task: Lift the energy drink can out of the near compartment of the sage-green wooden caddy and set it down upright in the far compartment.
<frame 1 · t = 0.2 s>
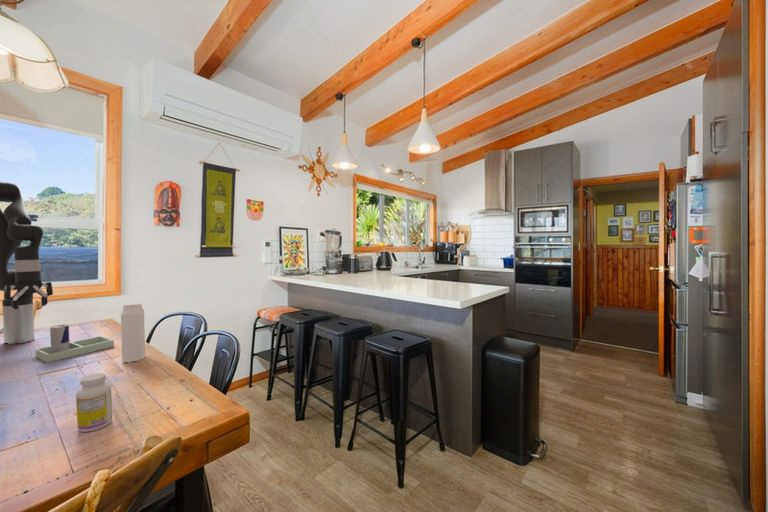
hand: (30, 307, 140), 17 cm above the table, tool pointing down, fingers open, 8 cm apart
supplement bottle: (95, 426, 82), on the table
milk: (134, 360, 127), on the table
caddy: (76, 351, 135), on the table
energy drink: (60, 355, 131), resting in caddy
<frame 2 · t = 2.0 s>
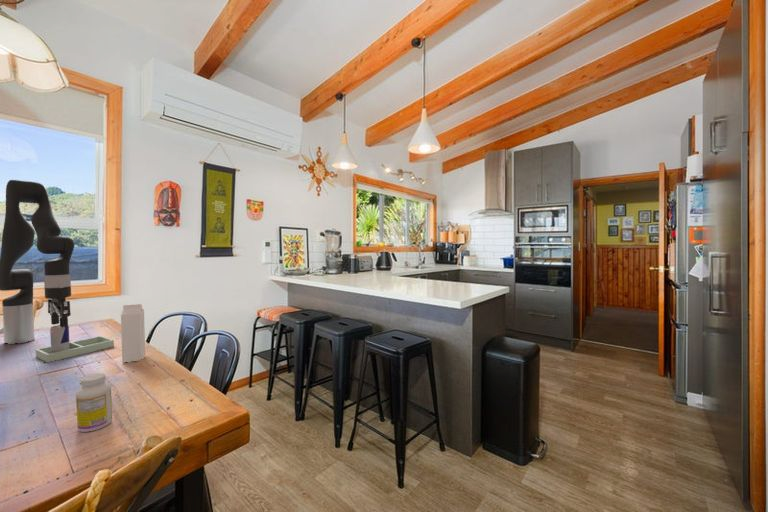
hand: (59, 325, 130), 12 cm above the table, tool pointing down, fingers open, 8 cm apart
nothing on the table moved.
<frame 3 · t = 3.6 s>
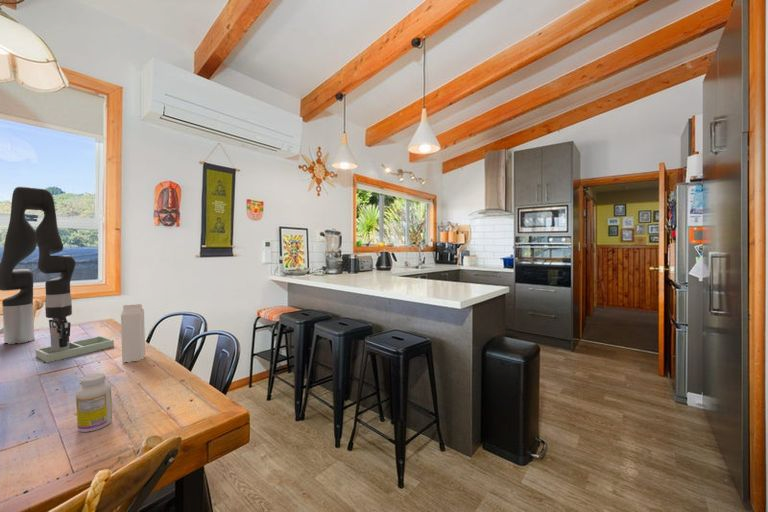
hand: (60, 345, 131), 4 cm above the table, tool pointing down, fingers closed on energy drink, 5 cm apart
energy drink: (60, 355, 131), resting in caddy, touching gripper
everything else where it was.
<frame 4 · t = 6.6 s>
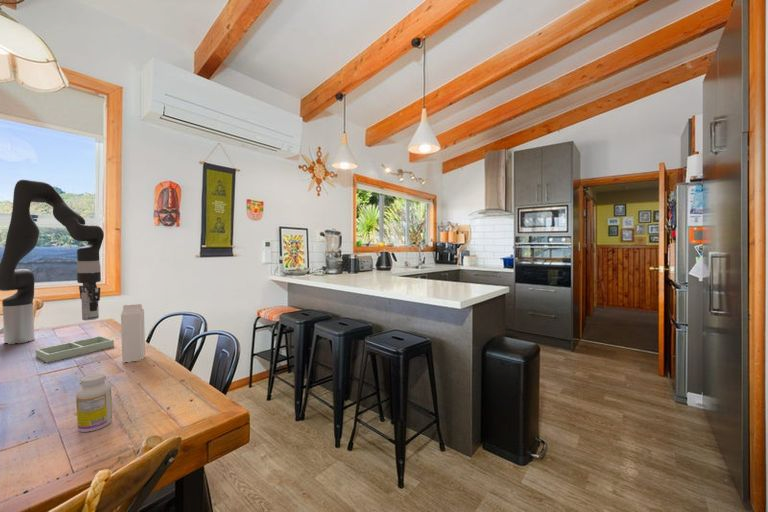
hand: (90, 310, 139), 17 cm above the table, tool pointing down, fingers closed on energy drink, 5 cm apart
energy drink: (90, 319, 139), point 13 cm above the table, touching gripper
everything else where it was.
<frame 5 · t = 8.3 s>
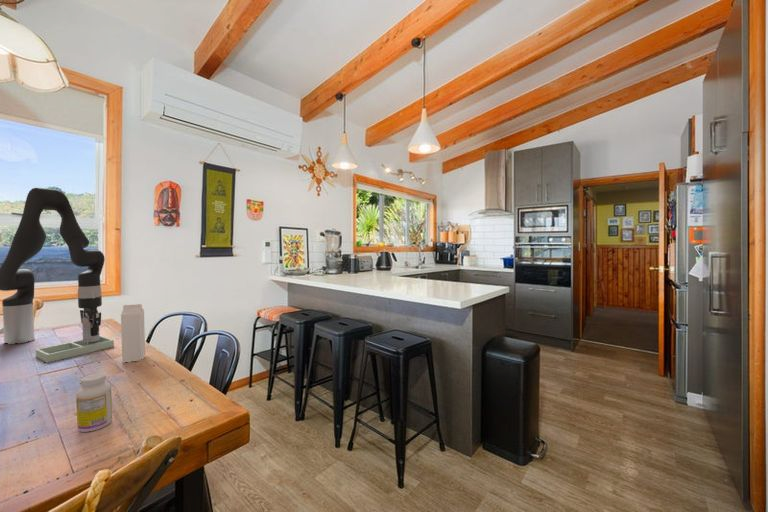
hand: (91, 334, 139), 6 cm above the table, tool pointing down, fingers closed on energy drink, 5 cm apart
energy drink: (91, 343, 140), point 2 cm above the table, touching gripper
everything else where it was.
when the fingers open (5 cm above the table, at t = 9.4 s): energy drink drops 1 cm, resting in caddy.
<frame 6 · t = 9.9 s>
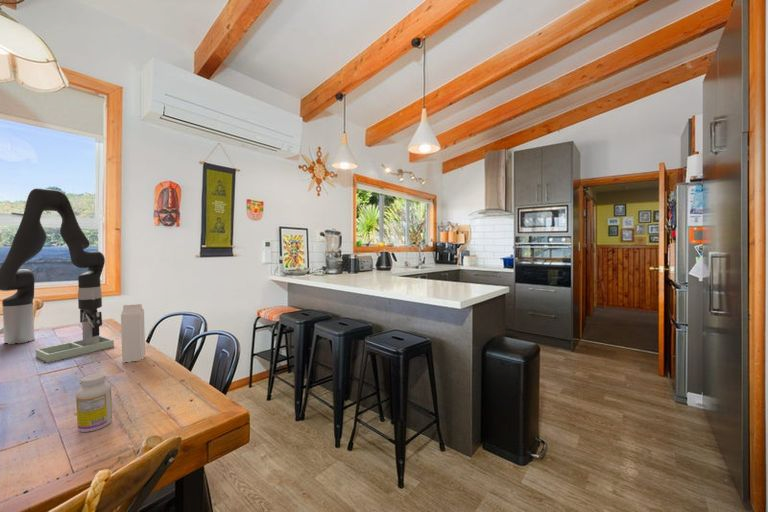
hand: (91, 334, 139), 6 cm above the table, tool pointing down, fingers open, 8 cm apart
energy drink: (91, 348, 140), resting in caddy
everything else where it was.
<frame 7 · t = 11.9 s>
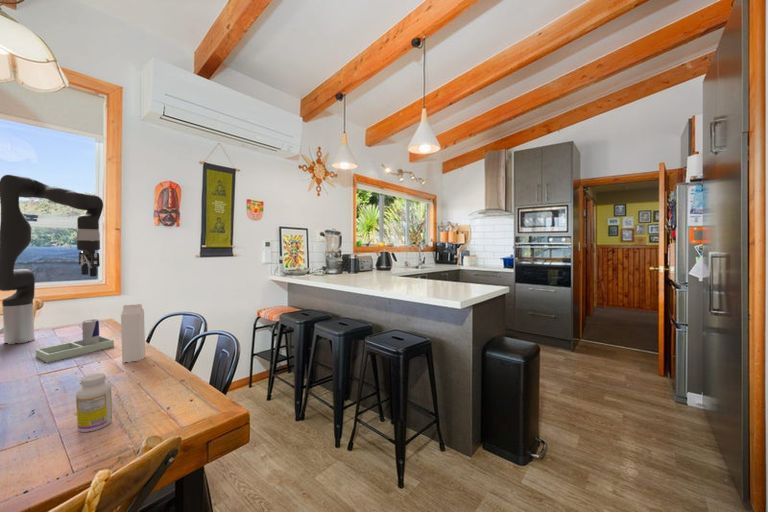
hand: (89, 275, 144), 31 cm above the table, tool pointing down, fingers open, 8 cm apart
nothing on the table moved.
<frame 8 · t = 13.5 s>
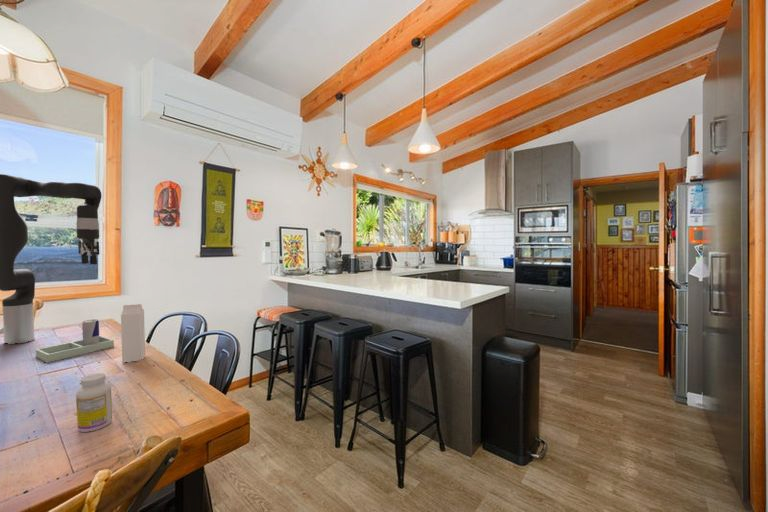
hand: (89, 263, 147), 36 cm above the table, tool pointing down, fingers open, 8 cm apart
nothing on the table moved.
at the end: energy drink inside the target area on the caddy (0.5 cm from its centre), point 0.0 cm above the caddy's base; energy drink tilted 0°; the gripper is holding nothing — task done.
